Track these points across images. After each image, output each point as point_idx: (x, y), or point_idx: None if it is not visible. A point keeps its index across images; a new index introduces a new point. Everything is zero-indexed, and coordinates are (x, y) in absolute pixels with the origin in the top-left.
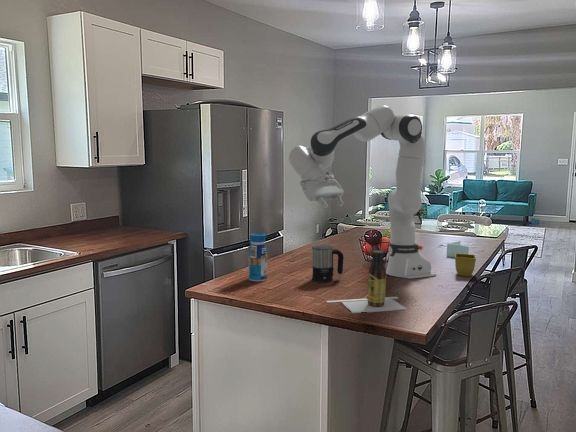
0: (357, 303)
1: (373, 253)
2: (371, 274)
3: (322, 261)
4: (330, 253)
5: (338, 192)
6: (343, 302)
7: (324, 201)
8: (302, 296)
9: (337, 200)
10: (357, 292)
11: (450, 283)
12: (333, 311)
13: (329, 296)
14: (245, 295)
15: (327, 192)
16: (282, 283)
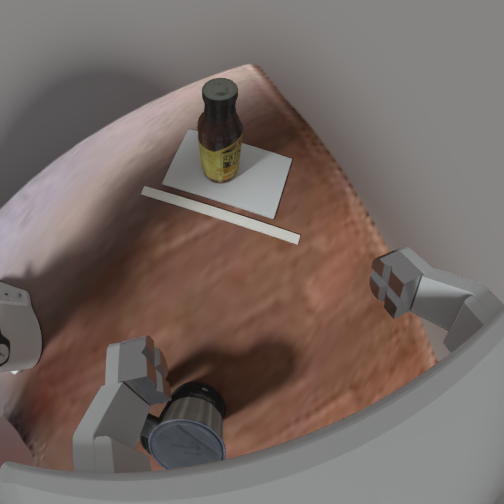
0: (249, 193)
1: (237, 92)
2: (242, 126)
3: (207, 409)
4: (173, 414)
5: (81, 486)
6: (271, 214)
7: (439, 273)
8: (322, 306)
9: (133, 441)
10: (186, 269)
11: (7, 224)
12: (317, 186)
13: (267, 276)
14: (409, 361)
15: (413, 421)
16: (304, 421)
